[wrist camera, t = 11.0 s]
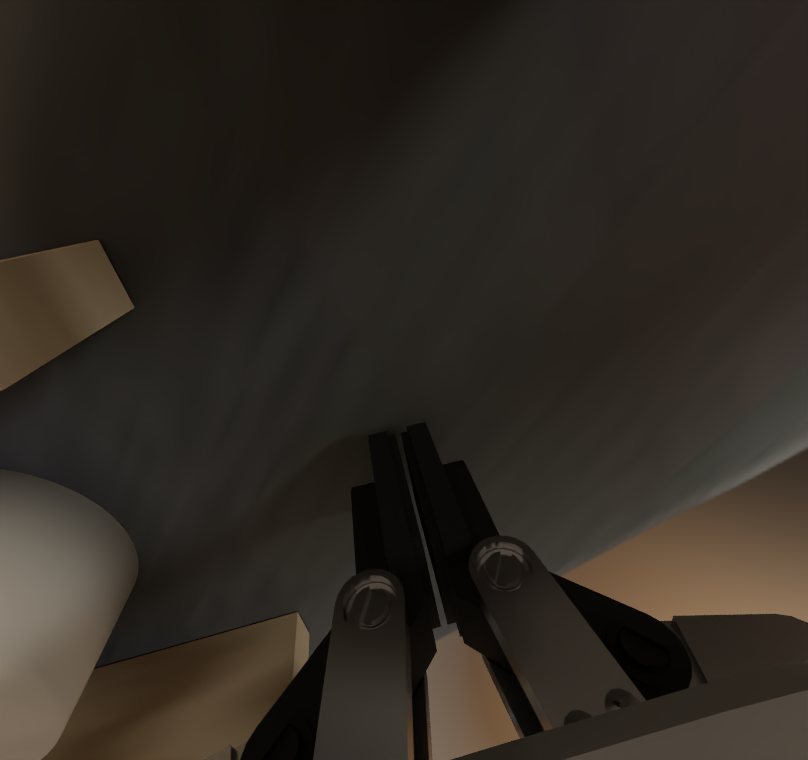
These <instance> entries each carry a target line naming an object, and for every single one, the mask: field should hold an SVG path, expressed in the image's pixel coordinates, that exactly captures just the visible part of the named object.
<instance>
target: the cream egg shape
mask: <svg viewBox="0 0 808 760" xmlns="http://www.w3.org/2000/svg"><path fill="white" fill-rule="evenodd" d="M138 570H139V562H138V555H137V552H136V549H135V546H134V544H133V542H132V540H131V538H130V536H129V535H128V533H127V532H126V531H125V529H124V528H123V527H122V526H121V524H120V523H119V522H118V521H117V520H116V519H115V518H114V517H113V516H112V515H111V514H109V513H108V512H107V511H105V510H104V509H103V508H102V507H100V506H99V505H98V504H96V503H94V502H93V501H91V500H89V499H88V498H86V497H85V496H83V495H81V494H79V493H77V492H75V491H73V490H71V489H69V488H67V487H64V486H62V485H59V484H56V483H54V482H51V481H49V480H46V479H42V478H39V477H36V476H32V475H29V474H24V473H20V472H15V471H10V470H5V469H0V760H41V759H42V758H43V757H44V756H46V755H47V754H48V753H49V752H50V750H51V749H52V748H53V747H54V746H55V745H56V743H57V741H58V740H59V738H60V736H61V734H62V732H63V730H64V728H65V726H66V724H67V722H68V720H69V718H70V716H71V714H72V712H73V710H74V708H75V706H76V704H77V702H78V700H79V698H80V696H81V693H82V691H83V689H84V687H85V685H86V683H87V681H88V679H89V677H90V675H91V673H92V671H93V669H94V667H95V665H96V663H97V661H98V659H99V657H100V655H101V653H102V651H103V649H104V647H105V645H106V643H107V641H108V638H109V636H110V634H111V632H112V630H113V628H114V626H115V624H116V622H117V620H118V618H119V616H120V614H121V612H122V610H123V608H124V606H125V604H126V602H127V600H128V598H129V596H130V594H131V592H132V590H133V588H134V586H135V583H136V580H137V577H138Z"/></svg>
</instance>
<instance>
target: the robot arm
mask: <svg viewBox="0 0 808 760" xmlns="http://www.w3.org/2000/svg"><path fill="white" fill-rule="evenodd" d="M401 437H402V441H403V446H404V450H405V455H406V460H407V464H408V469H409V473H410V478H411V483H412V487H413V492H414V496H415V501H416V505H417V509H418V513H419V517H420V521H421V525H422V528H423V532H424V536H425V540H426V543H427V547H428V551H429V555H430V559H431V562H432V566H433V570H434V574H435V578H436V581H437V585H438V589H439V593H440V597H441V600H442V604H443V608H444V612H445V616H446V619H447V623H448V624H451V623H455V622H456V623H457V627H458V631H459V634H460V636H462V637H463V640H464V643H465V644H467V645H468V646H470V647H472V648H473V649H475V650H476V651H478V652H479V653H481V654H482V658H483V661H484V663H485V665H486V667H487V669H488V671H489V674H490V676H491V678H492V680H493V682H494V684H495V686H496V689H497V691H498V693H499V694H500V697H501V699H502V701H503V704H504V706H505V708H506V710H507V712H508V714H509V716H510V719H511V721H512V723H513V725H514V727H515V729H516V731H517V733H518V736H519V738H520V739H518V740H514V741H511V742H508V743H504V744H501V745H498V746H494V747H491V748H488V749H485V750H481V751H478V752H475V753H471V754H468V755H465V756H462V757H459V758H455V759H452V760H808V623H807V622H804V621H802V620H799V619H797V618H794V617H792V616H786V615H779V614H745V615H699V616H673V619H672V621H659V620H657V619H655V618H653V617H652V616H650V615H648V614H646V613H643V612H641V611H638V610H636V609H634V608H632V607H629V606H627V605H625V604H623V603H620V602H618V601H615V600H613V599H611V598H609V597H606V596H604V595H602V594H600V593H597V592H595V591H592V590H590V589H588V588H586V587H583V586H581V585H578V584H576V583H574V582H572V581H569V580H567V579H565V578H562V577H560V576H558V575H556V574H553V573H551V572H549V571H548V570H547V568H546V567H545V566H544V565H543V563H542V562H541V561H540V559H539V558H538V557H537V555H536V554H535V553H534V551H533V550H532V549H531V548H530V547H529V546H528V545H527V544H525V543H524V542H522V541H520V540H518V539H516V538H513V537H509V536H500V535H499V533H498V531H497V529H496V527H495V525H494V523H493V521H492V519H491V516H490V514H489V512H488V510H487V508H486V506H485V504H484V502H483V500H482V498H481V495H480V493H479V491H478V489H477V487H476V485H475V483H474V481H473V479H472V477H471V475H470V472H469V470H468V468H467V466H466V464H465V462H464V461H463V460H460V461H456V462H452V463H448V464H444V465H442V463H441V461H440V458H439V456H438V453H437V451H436V448H435V445H434V443H433V440H432V438H431V435H430V433H429V430H428V428H427V425H426V423H425V422H423V423H419V424H414V425H410V426H407V432H403V433H401ZM368 438H369V445H370V452H371V459H372V466H373V473H374V480H375V482H373V483H369V484H365V485H361V486H357V487H353V488H351V499H352V515H353V531H354V547H355V563H356V575H354V576H353V577H351V578H350V579H349V580H348V581H347V582H346V583H345V584H344V585H343V587H342V589H341V590H340V592H339V594H338V596H337V599H336V603H335V607H334V614H333V621H332V628H331V630H330V631H329V633H328V634H327V635H326V637H325V638H324V639H323V641H322V642H321V643H320V645H319V646H318V647H317V648H316V650H315V651H314V652H313V654H312V655H311V656H310V658H309V659H308V660H307V662H306V663H305V664H304V665H303V667H302V668H301V669H300V671H299V672H298V673H297V675H296V676H295V677H294V679H293V680H292V681H291V682H290V684H289V685H288V686H287V688H286V689H285V690H284V692H283V693H282V694H281V696H280V697H279V698H278V699H277V701H276V702H275V703H274V705H273V706H272V707H271V709H270V710H269V711H268V713H267V714H266V715H265V716H264V718H263V719H262V720H261V722H260V723H259V724H258V726H257V727H256V728H255V730H254V732H253V733H252V735H251V736H250V738H249V740H248V741H246V742H244V743H243V744H241V745H239V746H237V747H236V748H233V747H232V746H231V745H229V746H227V747H225V748H224V749H222V750H220V751H218V752H217V753H215V754H213V755H211V756H210V757H208V758H206V759H204V760H432V744H431V729H430V713H429V696H428V680H427V673H426V670H427V668H428V666H429V665H430V663H431V661H432V659H433V657H434V655H435V653H436V652H437V649H436V645H435V644H436V643H435V639H434V634H433V630H432V629H434V628H437V627H441V624H440V620H439V615H438V611H437V606H436V602H435V597H434V593H433V588H432V584H431V579H430V575H429V570H428V566H427V561H426V557H425V552H424V548H423V544H422V540H421V536H420V532H419V528H418V524H417V520H416V516H415V512H414V508H413V504H412V500H411V496H410V492H409V488H408V484H407V480H406V476H405V472H404V468H403V464H402V460H401V456H400V452H399V448H398V444H397V440H396V437H395V435H390V436H388V435H387V431H386V432H381V433H377V434H373V435H369V436H368Z"/></svg>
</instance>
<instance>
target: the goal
mask: <svg viewBox="0 0 808 760" xmlns="http://www.w3.org/2000/svg"><path fill="white" fill-rule="evenodd" d="M133 308H135V307H134V306H133V304H132V302H131V300H130V298H129V296H128V294H127V292H126V291H125V289H124V287H123V285H122V283H121V281H120V279H119V278H118V276H117V274H116V272H115V270H114V268H113V266H112V264H111V263H110V261H109V259H108V257H107V255H106V253H105V251H104V250H103V248H102V246H101V244H100V242H99V240H94V241H89V242H84V243H80V244H75V245H70V246H65V247H60V248H56V249H51V250H46V251H41V252H36V253H32V254H27V255H22V256H17V257H12V258H8V259H3V260H0V391H1V390H4V389H6V388H7V387H9V386H11V385H12V384H14V383H15V382H17V381H19V380H20V379H22V378H23V377H25V376H27V375H28V374H30V373H31V372H33V371H35V370H36V369H38V368H39V367H41V366H43V365H44V364H46V363H47V362H49V361H51V360H52V359H54V358H55V357H57V356H58V355H60V354H62V353H63V352H65V351H66V350H68V349H70V348H71V347H73V346H74V345H76V344H78V343H79V342H81V341H82V340H84V339H86V338H87V337H89V336H90V335H92V334H94V333H95V332H97V331H98V330H100V329H102V328H103V327H105V326H106V325H108V324H110V323H111V322H113V321H114V320H116V319H117V318H119V317H121V316H122V315H124V314H125V313H127V312H129V311H130V310H132V309H133ZM308 655H309V632H308V630H307V629H306V627H305V625H304V623H303V621H302V619H301V617H300V615H299V614H298V612H296V613H292V614H289V615H285V616H282V617H278V618H275V619H271V620H267V621H264V622H260V623H257V624H253V625H250V626H246V627H243V628H239V629H235V630H232V631H228V632H225V633H221V634H218V635H214V636H211V637H207V638H203V639H200V640H196V641H193V642H189V643H186V644H182V645H179V646H175V647H171V648H168V649H164V650H161V651H157V652H154V653H150V654H147V655H143V656H139V657H136V658H132V659H129V660H125V661H122V662H118V663H115V664H111V665H107V666H104V667H100V668H97V669H93V671H92V673H91V675H90V677H89V679H88V681H87V683H86V685H85V687H84V689H83V691H82V693H81V696H80V698H79V700H78V702H77V704H76V706H75V708H74V710H73V712H72V714H71V716H70V718H69V720H68V722H67V724H66V726H65V728H64V730H63V732H62V734H61V736H60V738H59V740H58V741H57V743H56V745H55V746H54V747H53V748H52V749H51V750H50V752H49V753H48V754H47V755H46V756H44V757H43V758H42V759H41V760H204V759H206V758H208V757H210V756H211V755H213V754H215V753H217V752H218V751H220V750H222V749H224V748H225V747H227V746H229V745H231V746H232V747H233V748H236V747H237V746H239V745H241V744H243V743H244V742H246V741H248V740H249V738H250V736H251V735H252V733H253V732H254V730H255V728H256V727H257V726H258V724H259V723H260V722H261V720H262V719H263V718H264V716H265V715H266V714H267V713H268V711H269V710H270V709H271V707H272V706H273V705H274V703H275V702H276V701H277V699H278V698H279V697H280V696H281V694H282V693H283V692H284V690H285V689H286V688H287V686H288V685H289V684H290V682H291V681H292V680H293V679H294V677H295V676H296V675H297V673H298V672H299V671H300V669H301V668H302V667H303V665H304V664H305V663H306V662H307V660H308Z"/></svg>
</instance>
